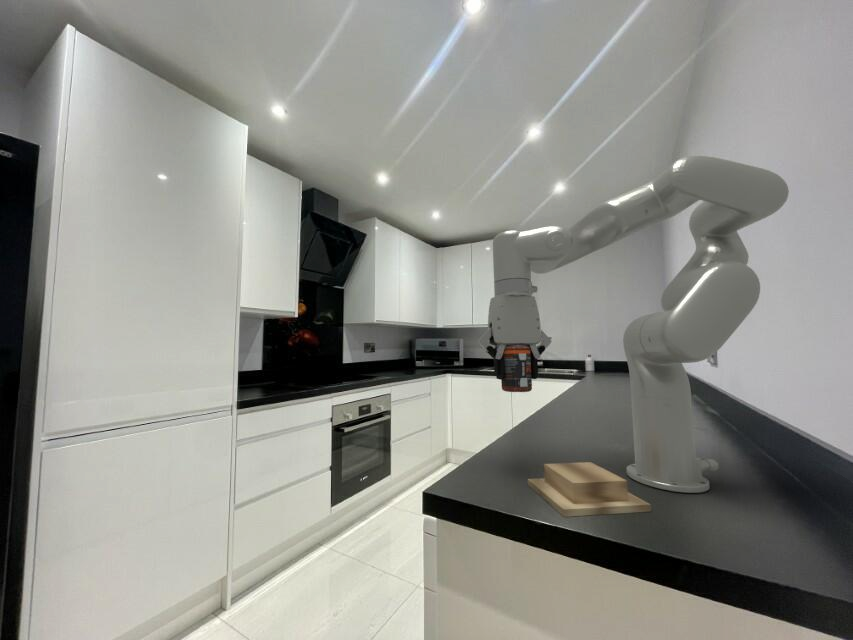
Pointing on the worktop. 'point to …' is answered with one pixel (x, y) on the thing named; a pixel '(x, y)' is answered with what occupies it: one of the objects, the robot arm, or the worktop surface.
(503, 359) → the robot arm
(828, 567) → the worktop surface
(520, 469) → the worktop surface
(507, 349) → the supplement bottle
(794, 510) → the worktop surface
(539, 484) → the oak base
